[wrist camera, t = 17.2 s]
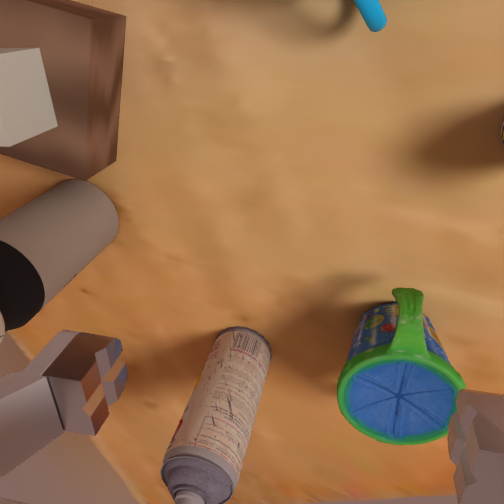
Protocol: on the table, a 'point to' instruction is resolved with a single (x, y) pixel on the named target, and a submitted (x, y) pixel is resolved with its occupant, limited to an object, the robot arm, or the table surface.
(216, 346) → the aerosol can
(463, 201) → the table surface
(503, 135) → the supplement bottle
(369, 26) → the mug
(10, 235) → the travel mug
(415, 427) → the snack cup
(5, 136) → the light gray cube
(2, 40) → the walnut block
